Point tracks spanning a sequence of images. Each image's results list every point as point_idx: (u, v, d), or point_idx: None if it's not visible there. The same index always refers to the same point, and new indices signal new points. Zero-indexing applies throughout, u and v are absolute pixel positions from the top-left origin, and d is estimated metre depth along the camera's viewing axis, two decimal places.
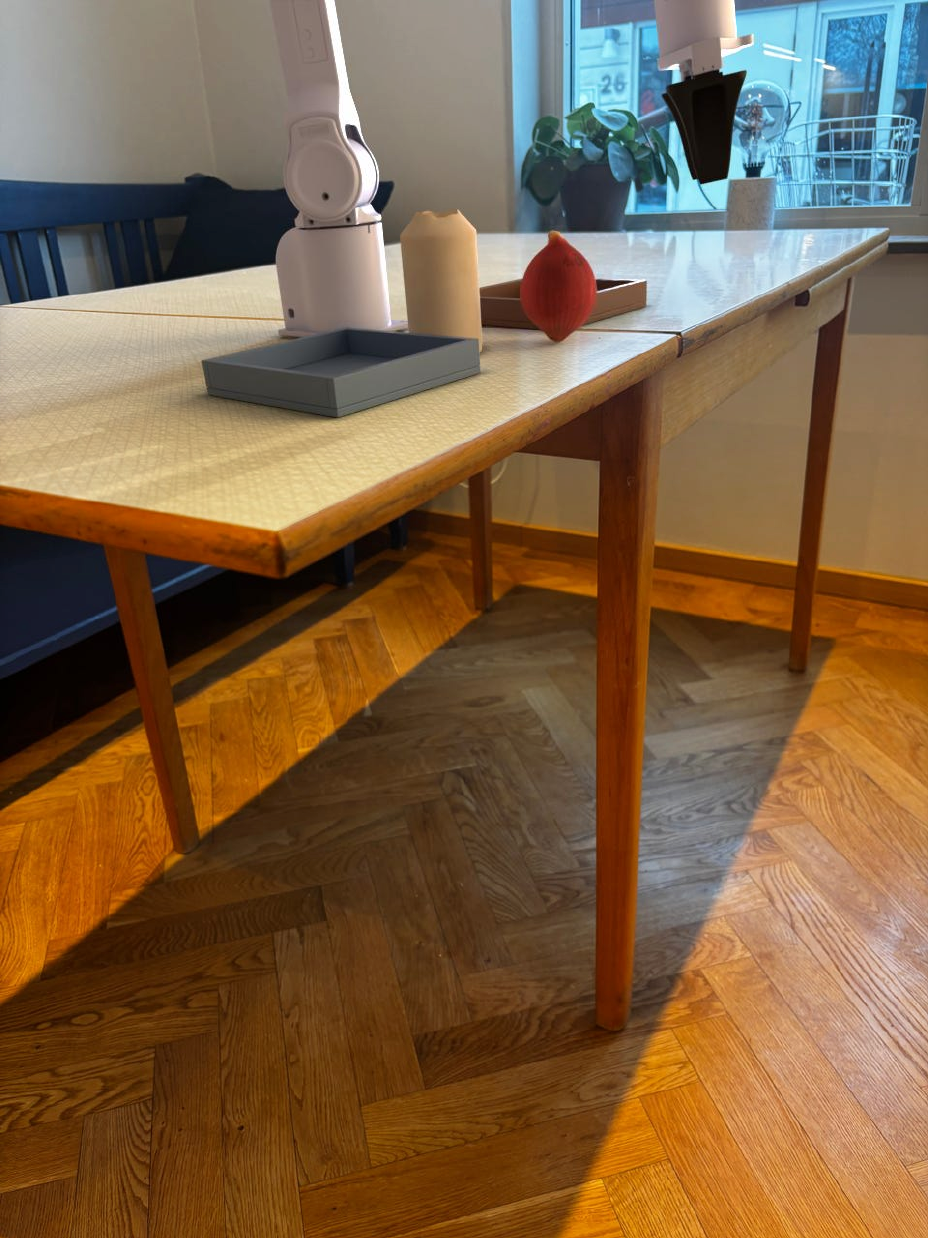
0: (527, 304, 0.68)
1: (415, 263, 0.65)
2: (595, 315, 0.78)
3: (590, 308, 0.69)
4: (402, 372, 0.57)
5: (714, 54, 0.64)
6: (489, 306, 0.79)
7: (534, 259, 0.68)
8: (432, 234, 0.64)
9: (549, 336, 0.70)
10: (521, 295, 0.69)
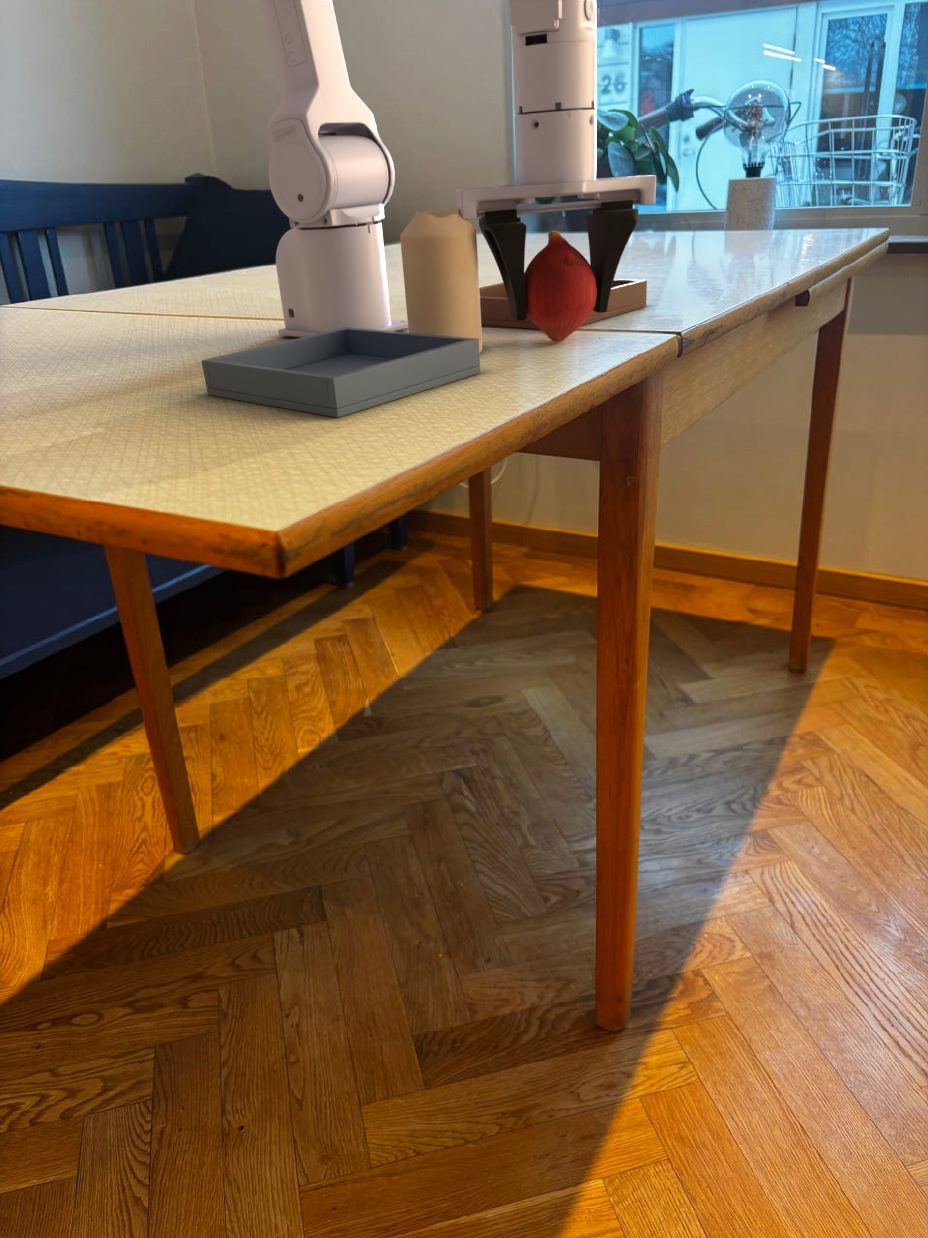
0: (527, 304, 0.68)
1: (415, 263, 0.65)
2: (595, 315, 0.78)
3: (590, 308, 0.69)
4: (402, 372, 0.57)
5: (460, 205, 0.65)
6: (489, 306, 0.79)
7: (534, 259, 0.68)
8: (432, 234, 0.64)
9: (549, 336, 0.71)
10: None
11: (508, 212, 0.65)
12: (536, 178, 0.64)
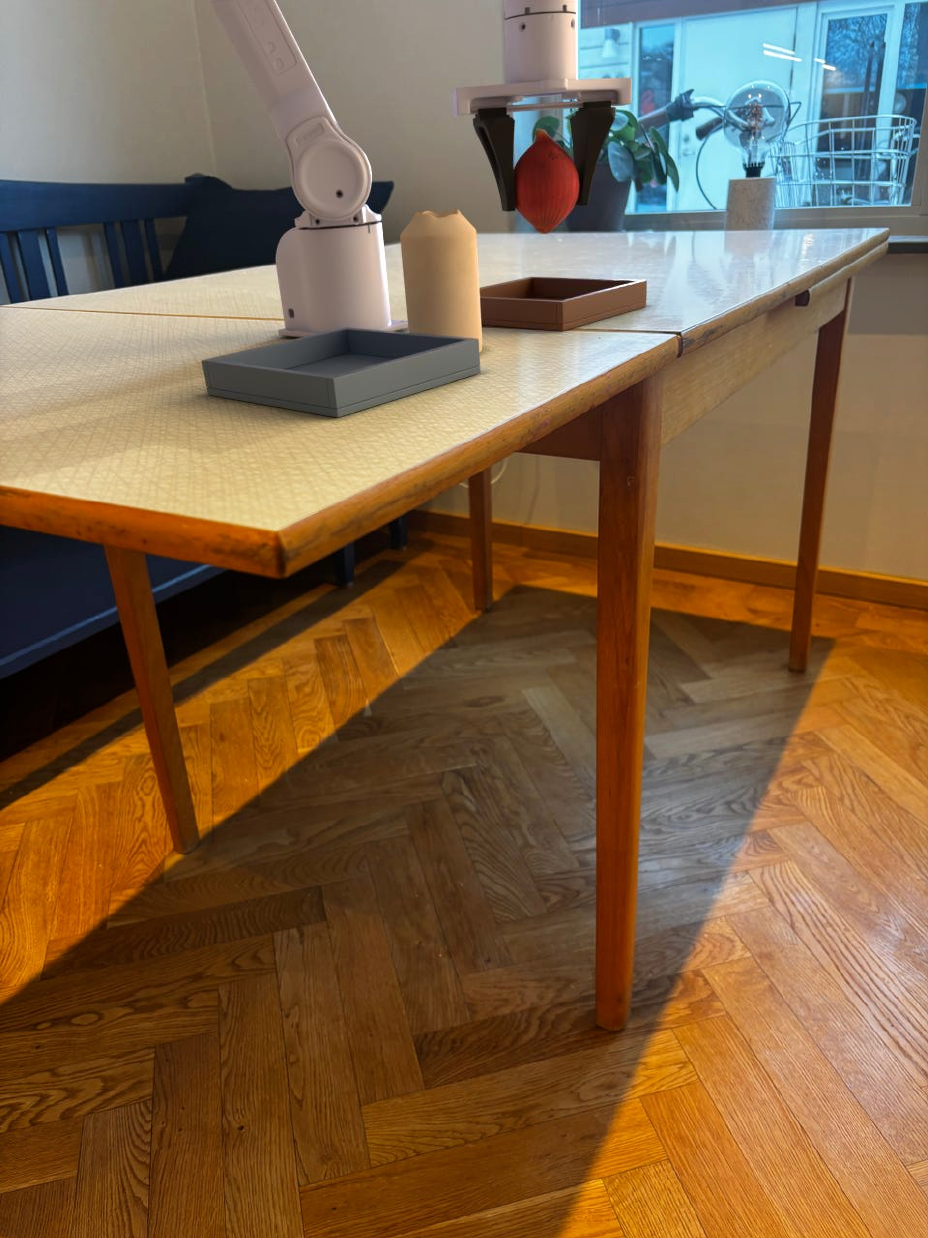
0: (516, 196, 0.76)
1: (415, 263, 0.65)
2: (595, 315, 0.78)
3: (573, 200, 0.76)
4: (402, 372, 0.57)
5: (455, 102, 0.73)
6: (489, 306, 0.79)
7: (523, 155, 0.75)
8: (432, 234, 0.64)
9: (536, 228, 0.78)
10: None
11: (498, 109, 0.73)
12: (523, 76, 0.71)
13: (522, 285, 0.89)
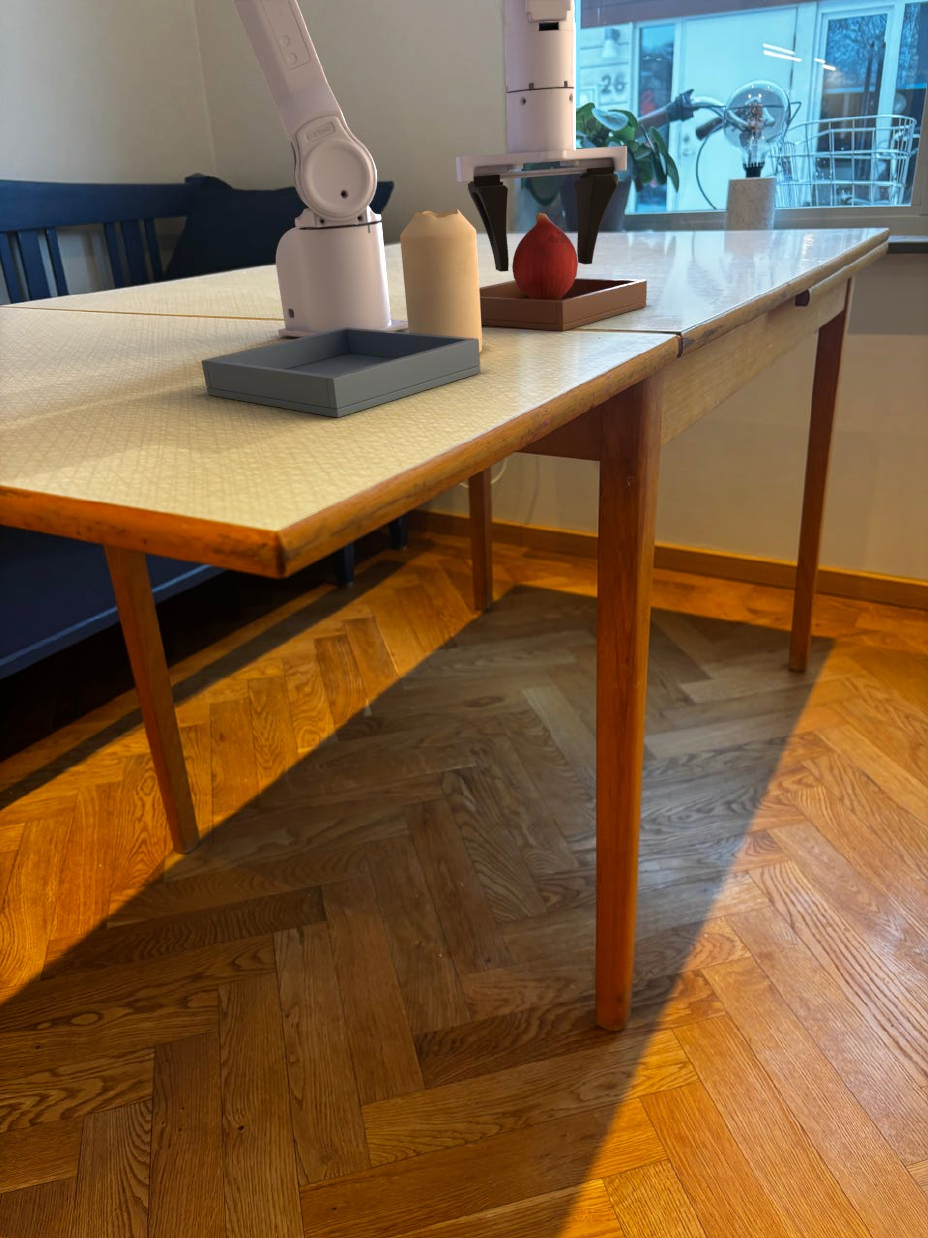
0: (518, 275, 0.81)
1: (415, 263, 0.65)
2: (595, 315, 0.78)
3: (572, 279, 0.81)
4: (402, 372, 0.57)
5: (459, 169, 0.76)
6: (489, 306, 0.79)
7: (524, 237, 0.80)
8: (432, 234, 0.64)
9: None
10: (513, 268, 0.81)
11: (492, 177, 0.77)
12: (524, 147, 0.75)
13: None
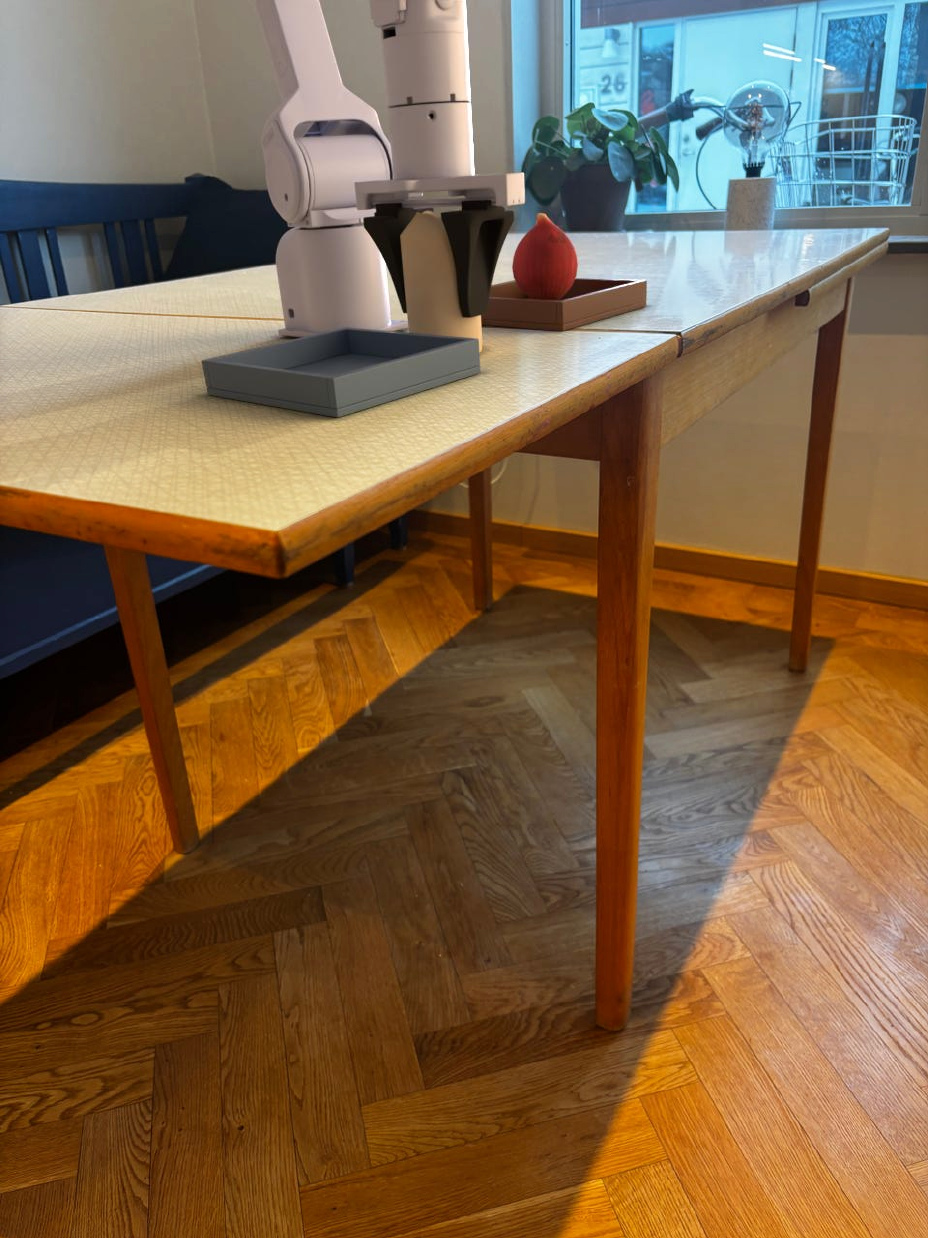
0: (518, 276, 0.81)
1: (415, 263, 0.65)
2: (595, 315, 0.78)
3: (572, 279, 0.81)
4: (402, 372, 0.57)
5: None
6: (489, 306, 0.79)
7: (524, 237, 0.80)
8: (432, 234, 0.64)
9: None
10: (513, 268, 0.81)
11: (390, 205, 0.67)
12: (393, 174, 0.64)
13: None
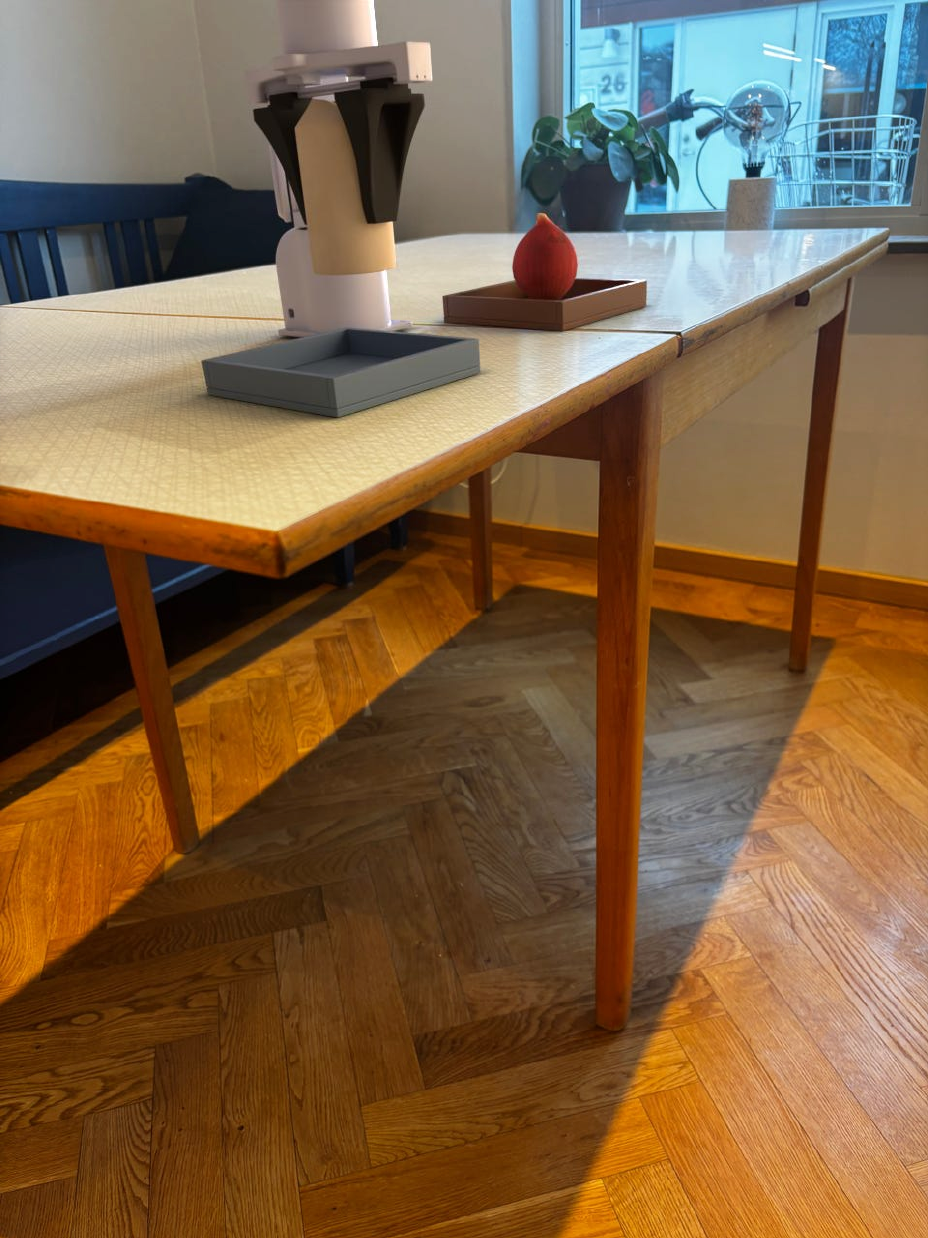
0: (518, 275, 0.81)
1: (311, 159, 0.56)
2: (595, 315, 0.78)
3: (572, 279, 0.81)
4: (402, 372, 0.57)
5: None
6: (489, 306, 0.79)
7: (524, 237, 0.80)
8: (328, 122, 0.54)
9: None
10: (513, 268, 0.81)
11: (284, 95, 0.57)
12: None
13: None
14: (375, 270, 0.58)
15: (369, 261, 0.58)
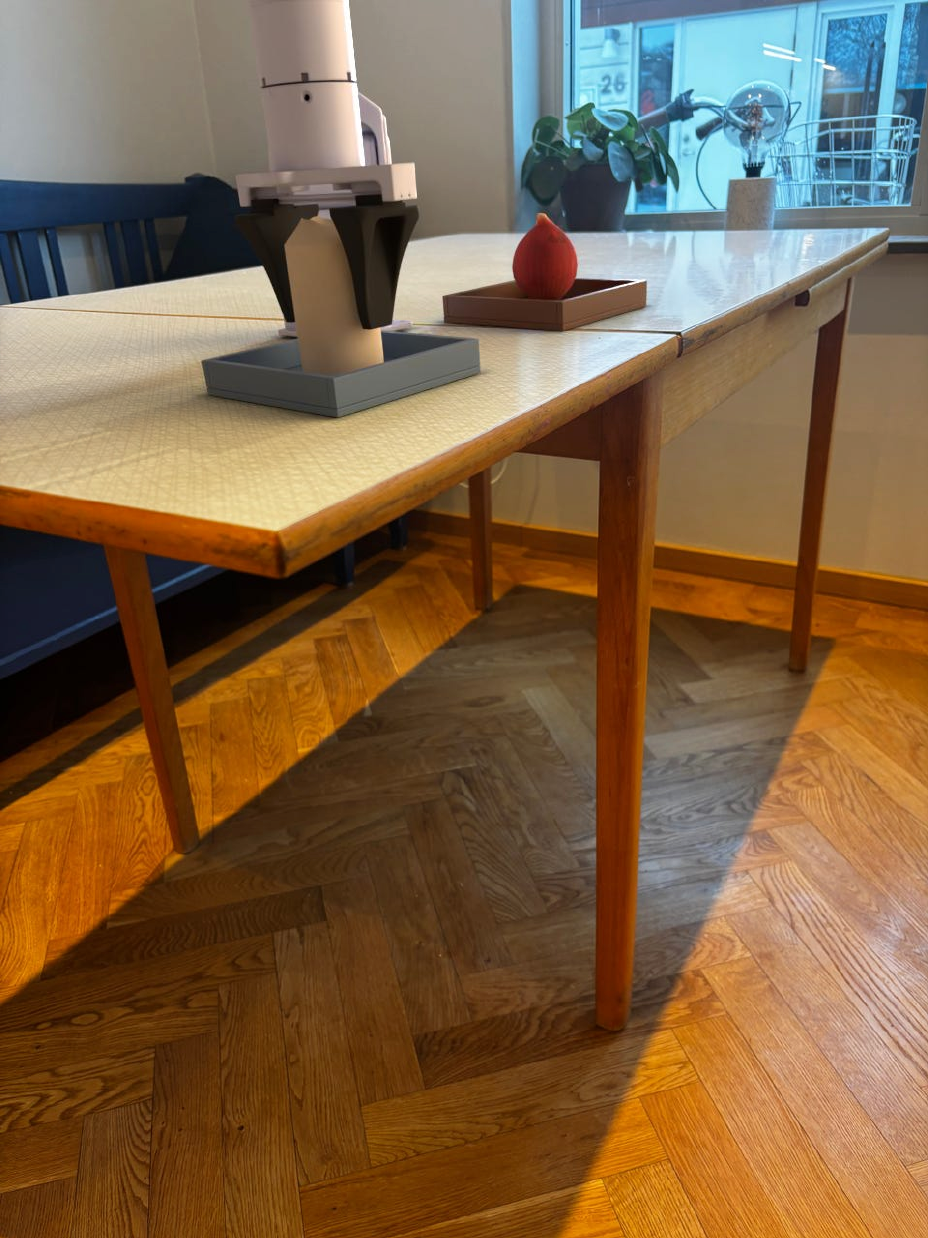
0: (518, 275, 0.81)
1: (300, 276, 0.57)
2: (595, 315, 0.78)
3: (572, 279, 0.81)
4: (402, 372, 0.57)
5: None
6: (489, 306, 0.79)
7: (524, 237, 0.80)
8: (316, 243, 0.56)
9: None
10: (513, 268, 0.81)
11: (266, 201, 0.59)
12: None
13: None
14: None
15: None
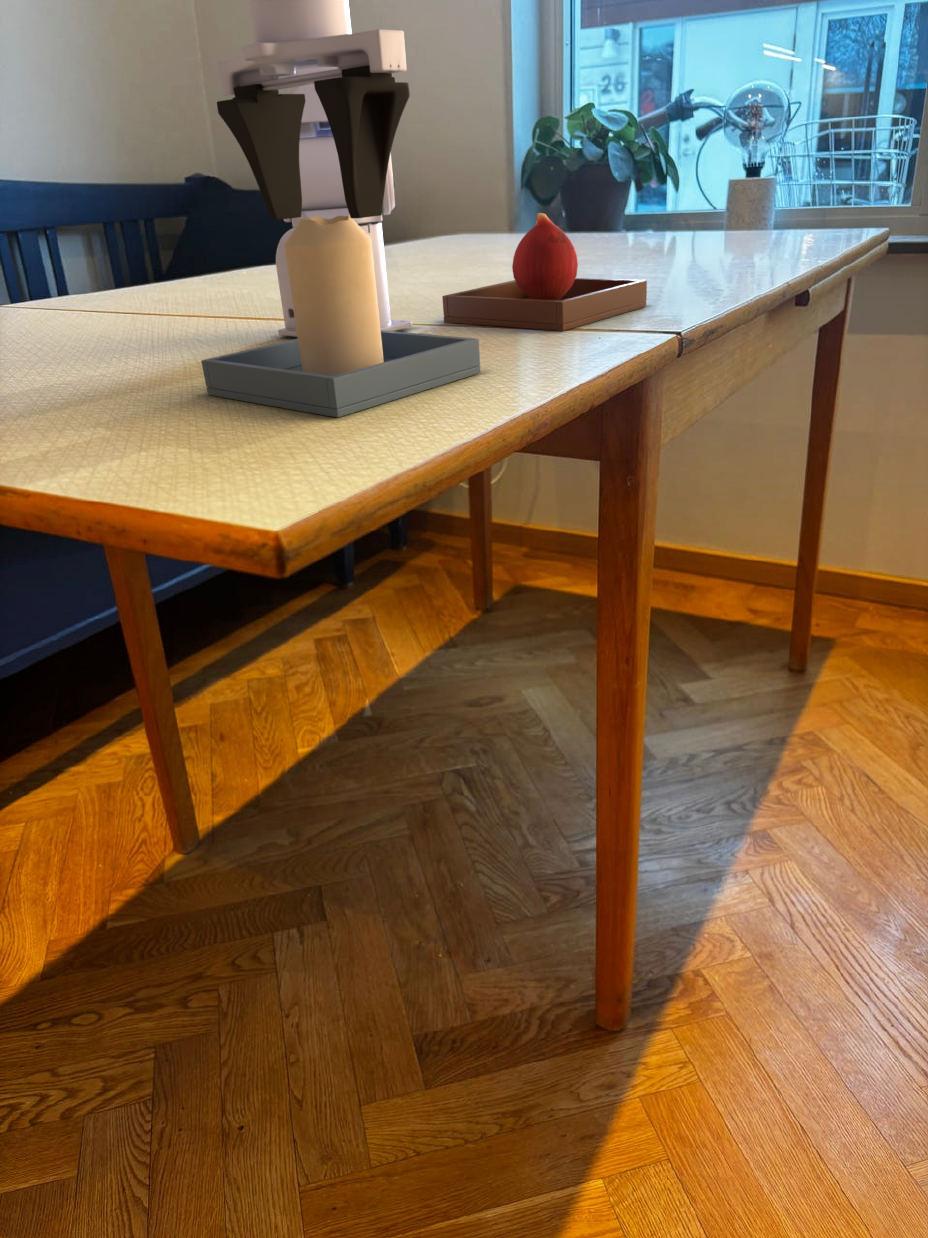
0: (518, 275, 0.81)
1: (300, 276, 0.57)
2: (595, 315, 0.78)
3: (572, 279, 0.81)
4: (402, 372, 0.57)
5: None
6: (489, 306, 0.79)
7: (524, 237, 0.80)
8: (316, 243, 0.56)
9: None
10: (513, 268, 0.81)
11: (249, 87, 0.56)
12: None
13: None
14: None
15: None
